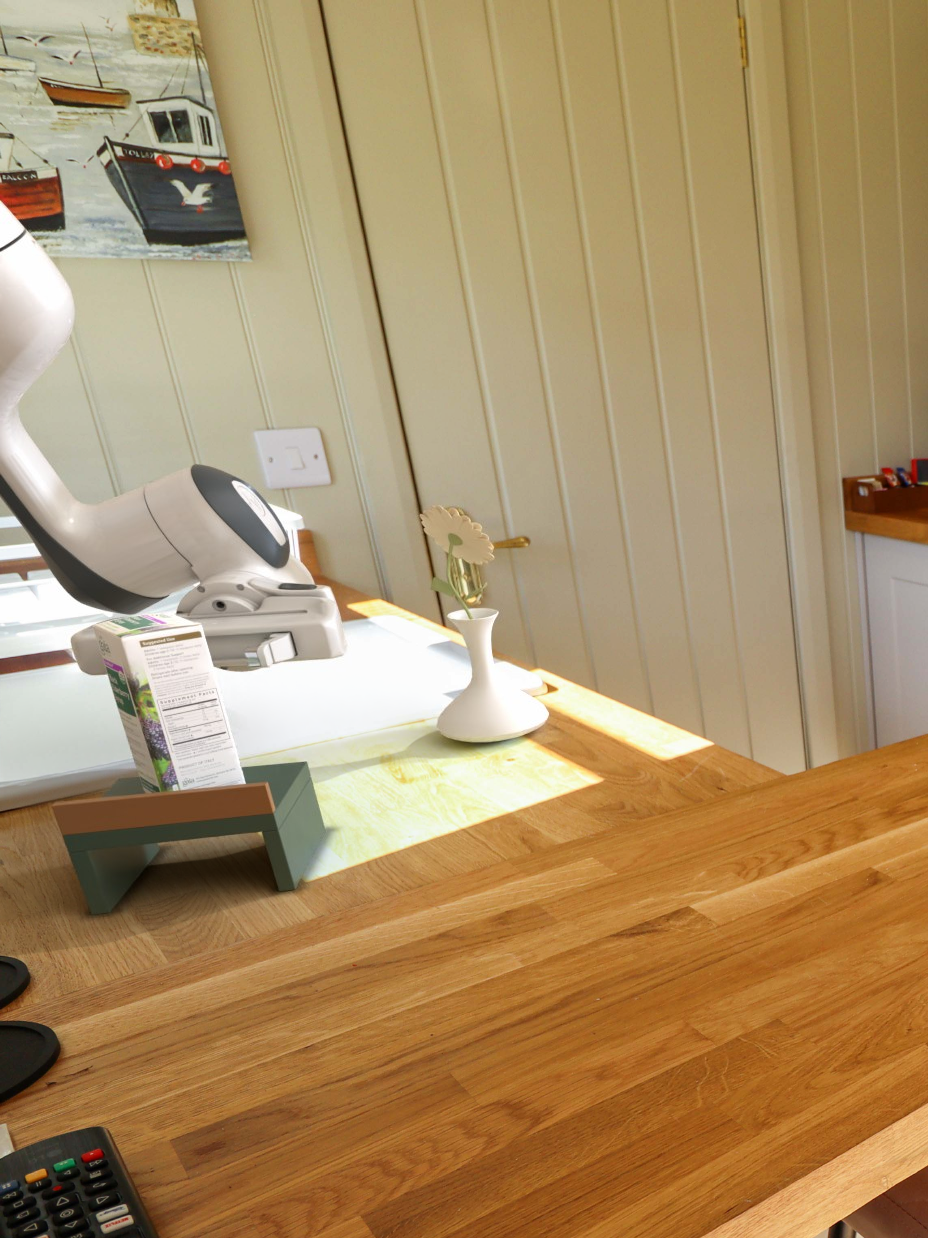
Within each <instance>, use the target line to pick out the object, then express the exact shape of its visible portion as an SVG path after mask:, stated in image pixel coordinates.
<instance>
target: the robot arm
mask: <svg viewBox="0 0 928 1238" xmlns="http://www.w3.org/2000/svg"><path fill="white" fill-rule="evenodd" d="M75 306H76V305H75V299H74V296H73V291H72V289H71V287H70V286H69V284H68V281H67V280H66V278H65V277H64V275H63V274H62V273H61V271H60V269H59V268H58V266H57V265H56V263H54V261H53V260H52V259H51V257H50V256H49V254H48V253H47V252H46V250H44V248H43V247H42V246H41V245H40V244H39V242H38V241H37V240H36V239H35V238H34V237H33V235H32V234H31V233H30V232H29V231H28V230H27V228H26V227H25V226H24V225H23V224H22V222H20V221H19V219H18V218H17V217H16V216H15V215H14V214H13V213H12V211H11V210H10V209H9V208H8V207H7V206H6V205H5V204H4V202H3V201H2V200H0V499H1V500H2V502H3V503H4V504H5V505H6V507H7V508H8V509H9V510H10V512H11V513H12V515H13V516H14V517H15V518H16V520H17V522H19V524H20V525H21V526H22V528H23V529H24V530H25V532H26V533H27V535H28V536H29V538H30V539H31V541H32V542H33V544H34V545H35V547H36V549H37V551H38V553H39V555H40V556H41V558H42V559H43V560H44V563H45V565H46V566H47V567H48V569H49V571H50V572H51V574H52V575H53V577H54V578H55V579H56V581H57V582H58V583H59V585H60V586H61V587H62V589H63V590H64V591H65V592H66V593H67V594H68V595H69V596H70V597H72V599H74V600H75V601H77V602H78V603H80V604H82V605H85V606H87V607H90V608H94V609H97V610H100V611H104V612H108V613H114V614H121V615H128V617H130V616H134V615H136V614H139V613H141V612H142V611H144V610H146V609H148V608H150V607H152V606H153V605H155V604H157V603H159V602H161V601H163V600H165V599H167V598H168V597H169V596H171V595H172V594H174V593H177V592H179V591H182V590H185V589H186V588H190V587H191V586H193V585H196V584H198V583H199V584H198V585H196V586H195V587H194V588H192V589H191V590H189V591H187V593H186V594H185V595H184V596H183V597H182V599H181V600H180V601H179V603H178V606H177V608H176V611H175V612H176V613H174V614H175V615H177V616H180V617H182V618H185V619H188V620H190V621H192V622H194V623H196V622H198V623H201V625H202V628H203V632H204V635H205V639H206V642H207V646H208V649H209V653H210V656H211V660H212V663H213V667H214V668H216V669H219V670H223V671H228V672H234V673H247V672H254V671H257V670H261V669H266V668H270V667H271V666H272V665H277V664H281V663H291V662H304V661H319V660H321V661H322V660H331V659H332V660H333V659H337V658H340V657H343V656H344V655H345V654H346V653H347V651H348V643H347V637H346V633H345V629H344V625H343V621H342V617H341V613H340V610H339V606H338V603H337V601H336V598H335V595H334V593H333V590H332V588H331V587H330V586H328V585H323V584H316V583H315V580H314V578H313V576H312V574H311V572H310V571H309V570H308V568H307V567H306V566H305V564H304V563H303V562H302V561H301V560H300V559H298V558H297V557H296V556H294V555H293V554H292V553H291V544H290V538H289V536H288V534H287V531H286V529H285V527H284V526H283V524H282V522H281V521H280V518H279V517H278V516H277V514H276V512H275V511H274V510H273V509H272V507H271V505H270V504H269V503H268V502H267V501H266V499H265V498H264V497H263V495H261V494H260V493H259V492H258V491H257V489H255V488H254V487H253V486H252V485H250V484H249V483H247V482H246V481H245V480H243V479H241V478H239V477H237V476H235V475H233V474H230V473H229V472H227V471H224V470H221V469H219V468H216V467H213V466H209V465H205V464H198V463H194V464H192V465H191V466H188V467H185V468H182V469H180V470H178V471H174V472H172V473H169V474H167V475H165V476H162V477H159V478H156V479H155V480H153V481H152V480H151V481H149V482H148V483H146V484H145V485H143V486H139V487H138V488H135V489H132V490H130V491H127V492H125V493H122V494H120V495H117V496H115V497H112V498H110V499H108V500H105V501H102V502H100V503H96V504H88V503H85V502H81V501H79V500H77V498H75V497H74V496H73V494H72V493H71V491H70V490H69V489H68V488H67V486H66V485H65V484H64V482H63V480H62V479H61V478H60V476H59V475H58V473H57V472H56V471H55V469H54V468H53V466H52V465H51V464H50V463H49V461H48V460H47V459H46V457H45V456H44V454H43V453H42V451H41V450H40V449H39V447H38V445H36V443H35V442H34V440H33V439H32V437H31V436H30V434H29V433H28V432H27V431H26V429H25V427H24V425H23V423H22V421H21V418H20V413H19V412H20V411H19V404H20V402H21V400H22V398H23V396H24V395H25V393H26V392H27V391H28V390H29V388H30V387H31V386H32V385H33V384H34V383H35V382H37V380H38V379H39V378H40V377H41V376H42V375H43V373H44V372H45V371H46V370H47V369H48V368H49V367H50V366H51V365H52V364H53V362H55V360H56V359H57V357H58V356H60V354H61V353H62V351H63V350H64V348H65V346H66V345H67V343H68V341H69V339H70V337H71V335H72V332H73V329H74V325H75V321H76V320H75V319H76V307H75ZM124 617H125V616H120V617H113V618H108V619H105V620H102V621H99V622H96V623H94V624H92V625H90V626H87V627H85V628H83V629H81V630H79V631H77V632H75V633H73V634H72V636H71V637H70V645H71V649H72V653H73V656H74V659H75V661H76V663H77V666H78V668H79V669H80V671H81V672H82V673H84V674H87V675H88V676H106V675H107V671H106V668H105V665H104V661H103V658H102V655H101V652H100V648H99V645H98V642H97V639H96V636H95V633H94V630H93V625H95V624H99V623H102V622H106V621H110V620H114V619H119V618H124ZM107 676H108V675H107Z"/></svg>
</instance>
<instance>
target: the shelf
mask: <svg viewBox="0 0 928 1238" xmlns="http://www.w3.org/2000/svg"><path fill="white" fill-rule="evenodd" d="M241 768H242V771H243V775H244V779H245V782H246V784H239V785H228V786H218V787H208V788H197V789H187V790H177V791H166V792H156V793H145V791H144V789H143V786H142V783H141V780H140V777H139V776H135V777H134V776H132V777H123V778H121V777H120V778H118V779H117V780H116V781H115V782H114V783H113V784H112V785H111V786H110V787H109V788H108V789H107V790H106V791H105V792H104V793H103V794H102V795H101V796H100V797H95V798H84V799H75V800H64V801H55V802H54V803H53V804H52V805H50V807H51V809H52V813H53V816H54V819H55V820H56V823H57V826H58V829H59V831H60V834H61V836H62V840H63V842H64V845H65V847H66V849H67V852H68V855H69V858H70V861H71V865H72V866H73V869H74V871H75V872H74V873H75V874H76V877H77V880H78V882H79V884H80V887H81V890H82V893H83V895H84V898H85V902H86V903H87V907H88V909H89V912H90V914H91V915H92V916H95V915H102V914H110V913H111V912H112V910H113V909H114V908H115V906H117V904H118V903H119V902H120V901H121V899H122V898H123V897H124V895H125V894H126V893H127V892H128V891H129V889H130V888H131V887H132V885H133V884H134V883H135V881H136V880H138V878H139V877H140V876H141V875H142V873H143V872H144V870H145V869H146V868H147V867H148V865H149V864H150V863H151V862H152V860H153V859H154V858H155V857H156V855H157V854H158V853H159V852H160V846H159V844H161V843H171V842H181V841H188V840H189V841H190V840H199V839H208V838H217V837H227V836H235V835H245V834H254V833H261V834H262V838H263V841H264V845H265V847H266V851H267V855H268V858H269V862H270V866H271V869H272V873H273V876H274V878H275V882H276V885H277V889H278V891H279V892H288V891H295V890H296V889H297V887H298V885H299V883H300V881H302V880H301V879H302V878H303V876H304V874H305V872H306V870H307V869H308V866H309V864H310V862H311V861H312V859H313V856H314V855H315V852H316V851H317V849H318V847H319V845H320V843H321V842H322V839H323V837H324V835H325V834H326V827H325V823H324V820H323V815H322V813H321V808H320V805H319V800H318V796H317V793H316V789H315V787H314V782H313V779H312V775H311V770H310V768H309V763H308V761H304V760H303V761H295V762H286V763H283V762H282V763H273V764H263V765H251V766H241Z"/></svg>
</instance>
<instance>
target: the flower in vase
mask: <svg viewBox="0 0 928 1238" xmlns="http://www.w3.org/2000/svg"><path fill="white" fill-rule="evenodd" d="M419 518H420V519H421V525H422V526H423V527H424V528H423V531H424V533H425V534H426V535H427V536H429V537H430V538H432V540H433V542H434V543H435V545H437V546H441V549H442V550H443V551H444V552H445V553H447V561H446V572H445V573H446V579H447V581H445V580H443V579H441V578H439V577H437V576H434V577H433V579H432V583H431V585H430V588H429V589H430V590H431V591H435V592H439V593H442V594H443V595H446V596H448V597H451V598H453V597H456V599H457V600H458V602H459V604H460V605H461V606H462V608H463V609H460V610H455V611H452V612H449V613H448V614H447V615H446V618H447V619H448V620H449V621H450V622H451V623H452V624H453V625H454V626H455V627H456V628H457V630H458V631H459V633H460V634H461V636H462V639H463V641H464V643H465V646H466V649H467V652H468V656H469V660H470V666H471V679H470V682H469V684H468V685H466V688H464V690H462V691H461V692H460V693H459V695H457V696H456V697H455V698H454V699H453V700H452V701H451V702H450V703H449V704H447V706H446V707H445V708H444V709H443V710H442V712H441V713H440V715H439V716H438V718H437V721H436V730H438V732H440V734H441V735H442V736H444V737H445V738H447V739H451V740H455V741H459V742H466V743H493V742H500V741H501V742H502V741H505V740H512V739H515V738H519V737H523V736H524V735H526V734H529V733H532V732H534V731H536V730H538V729H539V728H541V727H542V726H543V725H544V724H546V721H547V720H548V718H549V711H548V709H547V708H546V706H545V704H543V703H542V702H540V701H539V700H538V699H537V698H535V697H533V696H531V695H530V694H528V693H526V692H525V691H522V690H520V689H519V688H516V687H515V686H513V685H511V684H509V683H508V682H506V681H505V680H504V679H502V678H501V676H500V675H499V674H498V671H497V669H496V666H495V662H494V657H493V651H492V650H493V649H492V630H493V626H494V622H495V620H496V618H497V617H498V615H499V610H496V609H495V608H488V607H477V608H475V607H474V608H468V606H467V605H466V602H465V601H467V600H470V599H471V598H473V597H475V596H476V595H478V594H479V593H480V592H481V591H482V590H483V589H485V588H486V587H487V586H488V582H487V581H486V582H484V584H483V586H482V587H480V588H476V589H475V590H473V591H471V592H470V593H468V594H467V595H466V596H465V598H463V599H462V597H461V595H460V594H459V593H458V591H457V589H456V588H455V586H454V584H453V582H452V579H451V564H452V557H454V558H455V559H458V560H460V559H462V560H464V562H466V563H468V564H471V565H472V564H475V565H478V566H483V564H489V563H490V562H489V561H494V560H495V559H496V558H495V556H494V555H493V552H494V550H495V547H494V545H493V544H492V542H491V541H490V536H489V535H488V534H486V533H484V532H482V530H483V527H482V525H481V524H480V523H478V522H471V518H470V517H469V516H467V515H466V514H465V515H460V513H459V511H458V510H457V509H456V507H449V509H448V510H446V509H445V508H444V507H443V506H442V505H440V504H435V505H433V504H432V505H430V509H423V510H422V513H419Z"/></svg>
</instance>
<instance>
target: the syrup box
mask: <svg viewBox="0 0 928 1238" xmlns="http://www.w3.org/2000/svg"><path fill="white" fill-rule="evenodd" d="M175 614H176V613H172V612H166V613H165V612H164V613H162V612H161V613H149V614H139V615H129V616H130V617H129V616H123V617H124V618H120V617H118V618H119V619H114V620H110V621H106V622H102V621H101V622H102V623H99V622H98V623H99V624H96V623H94V624H95V625H94V624H92V625H93V630H94V633H95V636H96V639H97V642H98V645H99V648H100V652H101V655H102V658H103V661H104V665H105V668H106V671H107V678H108V681H109V684H110V688H111V691H112V694H113V697H114V701H115V705H116V707H117V710H118V713H119V717H120V720H121V723H122V727H123V730H124V733H125V737H126V739H127V740H126V741H127V744H128V747H129V749H130V752H131V755H132V759H133V762H134V765H135V767H136V771H137V773H138V777H140V780H141V783H142V786H143V789H144V791H145V793H156V792H166V791H177V790H187V789H197V788H208V787H218V786H228V785H239V784H246V782H245V779H244V775H243V771H242V768H241V767H242V765H241V761H240V757H239V754H238V749H237V747H236V746H237V745H236V743H235V739H234V735H233V732H232V731H233V730H232V728H231V724H230V721H229V717H228V714H227V710H226V707H225V704H224V700H223V695H222V692H221V688H220V686H219V682H218V681H219V680H218V678H217V674H216V671H215V667H213V663H212V660H211V656H210V653H209V649H208V646H207V642H206V639H205V635H204V632H203V628H202V625H201V623H198V622H196V623H194V622H192V621H190V620H188V619H185V618H182V617H180V616H177V615H175Z"/></svg>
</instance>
